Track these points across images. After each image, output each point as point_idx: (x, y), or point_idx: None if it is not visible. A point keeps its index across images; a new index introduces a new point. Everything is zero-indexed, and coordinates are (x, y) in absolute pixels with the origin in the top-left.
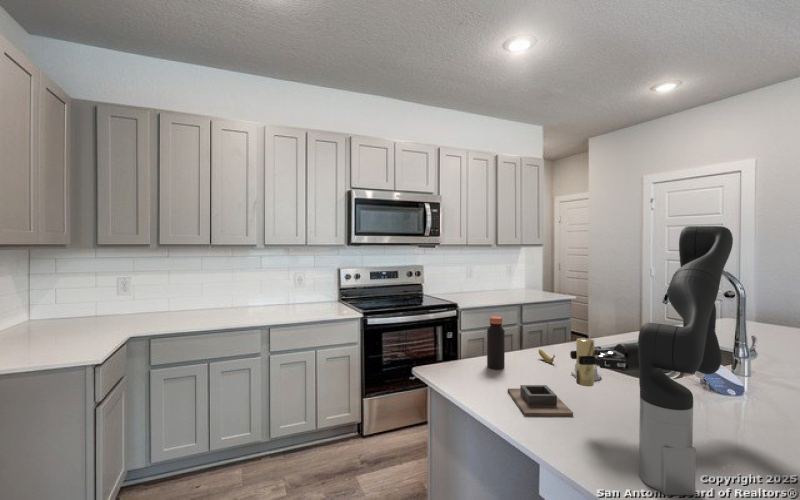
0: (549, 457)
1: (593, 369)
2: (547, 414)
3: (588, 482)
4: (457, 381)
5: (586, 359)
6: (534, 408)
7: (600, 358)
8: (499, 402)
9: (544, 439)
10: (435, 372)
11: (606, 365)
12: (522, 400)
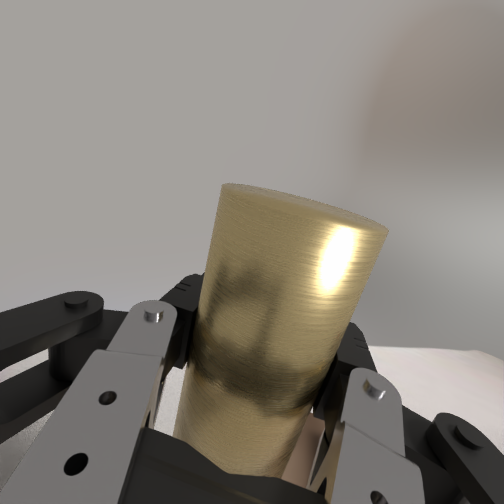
0: None
1: (181, 429)
2: None
3: None
4: (461, 384)
5: (181, 285)
6: (312, 448)
7: (89, 293)
8: None
9: (171, 379)
10: (493, 370)
11: (40, 406)
12: None
